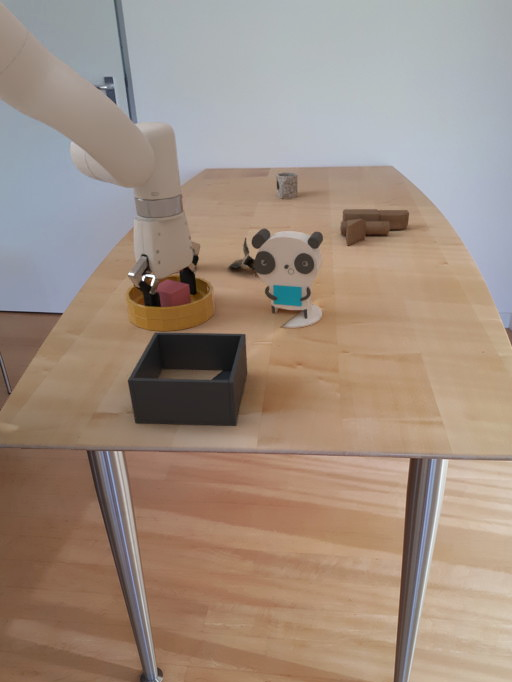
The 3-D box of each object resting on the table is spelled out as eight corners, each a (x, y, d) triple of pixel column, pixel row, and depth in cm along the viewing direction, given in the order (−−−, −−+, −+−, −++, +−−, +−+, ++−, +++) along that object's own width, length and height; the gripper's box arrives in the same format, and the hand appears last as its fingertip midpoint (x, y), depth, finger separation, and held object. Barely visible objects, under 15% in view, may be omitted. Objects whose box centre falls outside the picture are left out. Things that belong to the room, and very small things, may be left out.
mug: (279, 193, 180) (279, 172, 177) (299, 194, 179) (299, 172, 175) (271, 200, 172) (271, 178, 169) (292, 201, 171) (292, 179, 167)
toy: (174, 320, 96) (170, 293, 93) (152, 314, 98) (148, 288, 95) (191, 310, 99) (189, 284, 97) (170, 304, 101) (167, 279, 99)
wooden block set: (339, 205, 144) (408, 205, 143) (338, 226, 147) (406, 226, 146) (343, 222, 129) (420, 222, 129) (342, 246, 132) (417, 246, 132)
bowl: (179, 343, 90) (175, 315, 87) (111, 323, 97) (106, 297, 94) (231, 309, 101) (230, 284, 99) (167, 293, 108) (164, 269, 105)
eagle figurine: (277, 265, 118) (251, 248, 123) (265, 243, 112) (239, 226, 117) (252, 289, 117) (227, 271, 122) (239, 269, 111) (214, 250, 116)
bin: (135, 423, 71) (127, 380, 68) (160, 371, 82) (154, 332, 79) (236, 426, 70) (233, 382, 67) (247, 373, 81) (245, 333, 78)
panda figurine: (247, 323, 96) (243, 240, 88) (266, 298, 105) (264, 221, 97) (314, 331, 93) (316, 245, 85) (327, 304, 102) (330, 225, 95)
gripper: (175, 192, 97) (186, 282, 106) (103, 216, 84) (122, 316, 93) (209, 196, 93) (217, 289, 102) (139, 222, 81) (155, 326, 90)
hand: (172, 302), depth 98 cm, fingers open, 9 cm apart
